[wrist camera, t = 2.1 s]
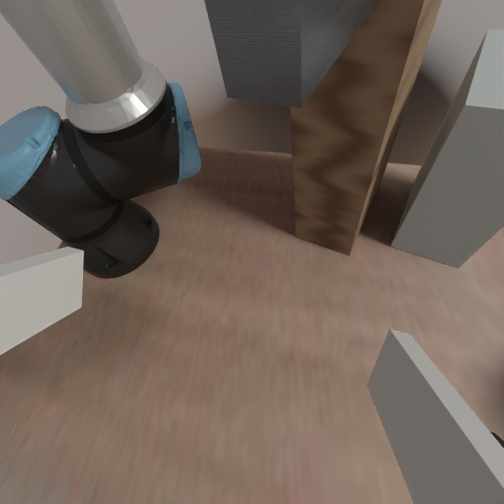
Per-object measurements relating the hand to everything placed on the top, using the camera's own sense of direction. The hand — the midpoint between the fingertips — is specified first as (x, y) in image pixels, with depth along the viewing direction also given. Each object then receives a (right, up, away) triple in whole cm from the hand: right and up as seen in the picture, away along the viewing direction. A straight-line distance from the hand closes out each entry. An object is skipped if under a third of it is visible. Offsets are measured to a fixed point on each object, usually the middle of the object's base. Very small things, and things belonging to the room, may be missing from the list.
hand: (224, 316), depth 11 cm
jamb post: (+16, +10, +34) cm, 39 cm away
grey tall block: (+30, +7, +30) cm, 43 cm away
